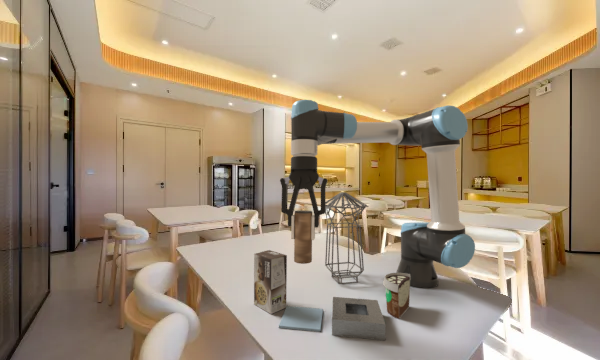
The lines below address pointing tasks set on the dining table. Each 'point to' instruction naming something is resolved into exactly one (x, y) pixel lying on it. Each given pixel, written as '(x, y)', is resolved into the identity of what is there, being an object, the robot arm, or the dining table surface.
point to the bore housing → (357, 318)
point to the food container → (397, 293)
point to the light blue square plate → (302, 318)
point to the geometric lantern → (351, 199)
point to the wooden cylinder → (303, 237)
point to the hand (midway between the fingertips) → (303, 238)
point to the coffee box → (270, 280)
